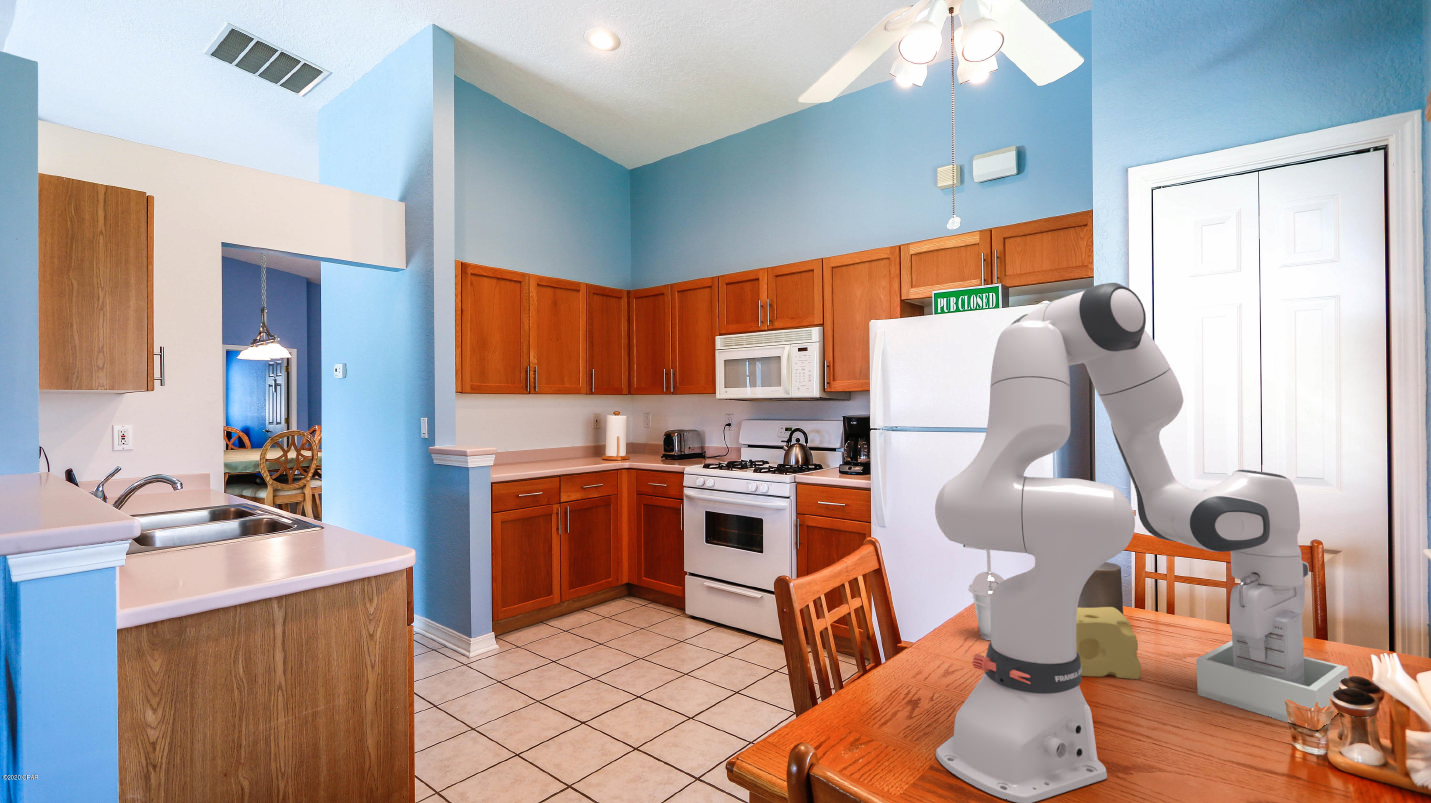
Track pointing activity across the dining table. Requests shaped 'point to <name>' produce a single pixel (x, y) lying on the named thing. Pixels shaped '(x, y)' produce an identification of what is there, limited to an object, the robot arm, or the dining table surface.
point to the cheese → (1106, 643)
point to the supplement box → (1276, 650)
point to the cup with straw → (984, 596)
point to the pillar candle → (1103, 588)
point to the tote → (1265, 684)
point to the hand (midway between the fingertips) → (1269, 653)
